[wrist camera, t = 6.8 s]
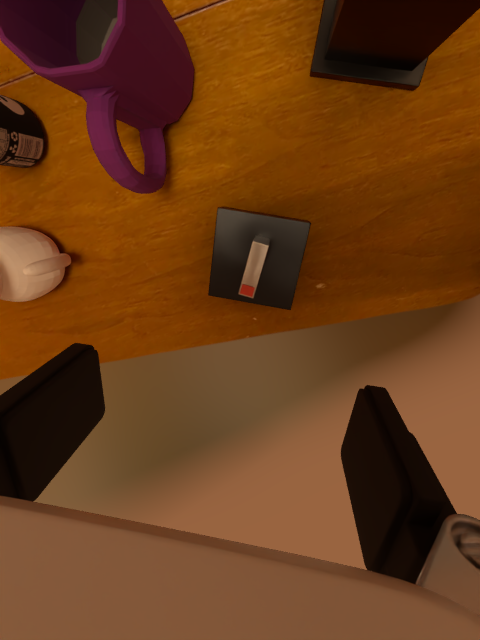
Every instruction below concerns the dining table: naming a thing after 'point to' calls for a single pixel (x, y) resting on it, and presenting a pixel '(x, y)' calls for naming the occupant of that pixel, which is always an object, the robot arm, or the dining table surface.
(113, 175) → the mug
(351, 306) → the dining table surface
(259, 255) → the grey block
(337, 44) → the stop pillar
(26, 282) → the cat figurine
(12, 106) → the beverage can
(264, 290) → the rotary switch block
